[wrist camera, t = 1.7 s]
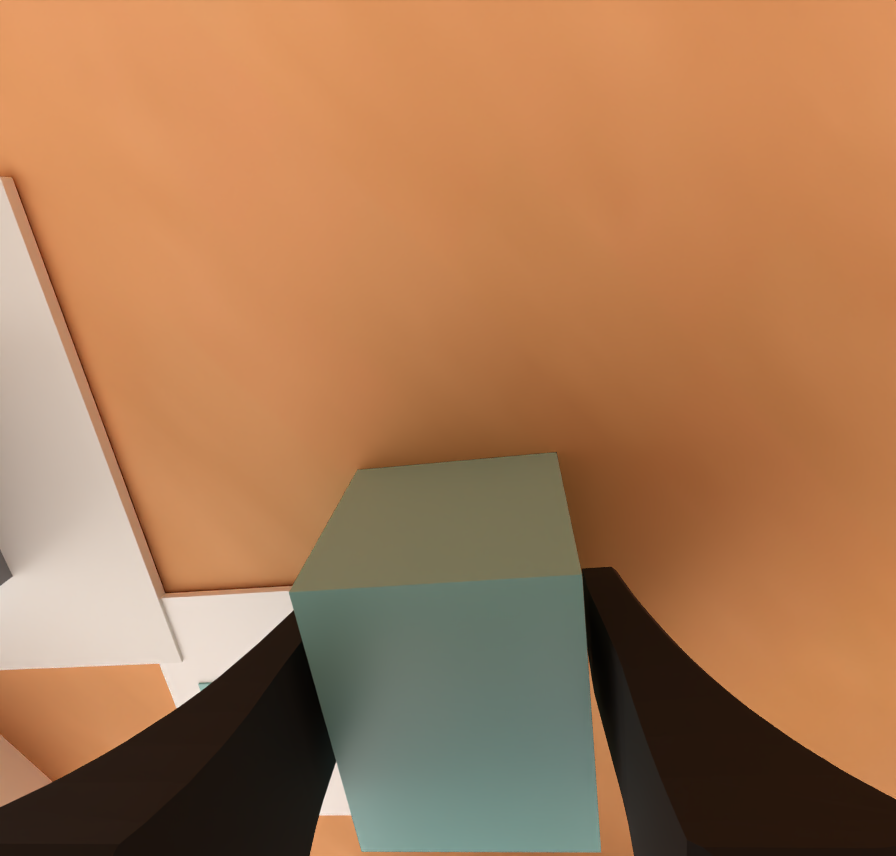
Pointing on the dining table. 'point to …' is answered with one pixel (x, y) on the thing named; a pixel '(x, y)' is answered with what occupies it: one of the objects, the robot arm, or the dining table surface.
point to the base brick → (4, 570)
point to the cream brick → (17, 774)
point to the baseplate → (63, 492)
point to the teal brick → (455, 658)
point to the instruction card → (228, 646)
